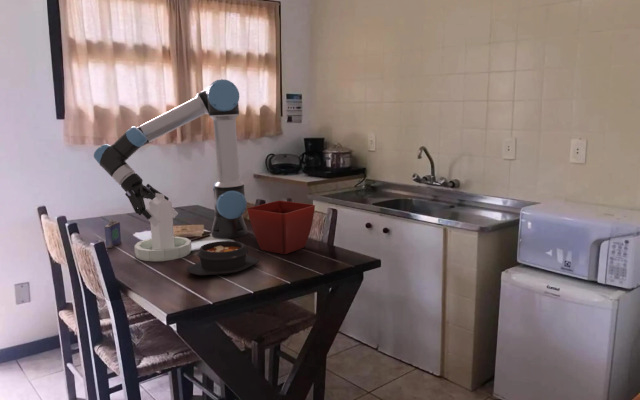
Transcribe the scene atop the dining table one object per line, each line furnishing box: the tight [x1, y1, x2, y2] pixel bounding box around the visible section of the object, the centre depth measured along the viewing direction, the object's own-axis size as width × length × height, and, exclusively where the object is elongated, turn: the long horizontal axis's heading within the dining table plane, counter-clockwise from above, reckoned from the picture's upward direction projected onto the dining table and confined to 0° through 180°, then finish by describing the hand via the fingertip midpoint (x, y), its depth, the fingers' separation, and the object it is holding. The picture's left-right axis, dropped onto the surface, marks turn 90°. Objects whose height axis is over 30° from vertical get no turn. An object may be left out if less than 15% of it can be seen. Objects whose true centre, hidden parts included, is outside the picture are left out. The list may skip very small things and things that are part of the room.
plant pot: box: [246, 200, 316, 255], centre depth 203 cm, size 19×19×17 cm
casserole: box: [186, 240, 260, 277], centre depth 179 cm, size 25×19×8 cm
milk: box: [148, 193, 175, 250], centre depth 198 cm, size 6×6×22 cm
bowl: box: [133, 236, 192, 262], centre depth 200 cm, size 20×20×4 cm
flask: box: [104, 219, 122, 249], centre depth 211 cm, size 9×3×11 cm, turn 172°
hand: (167, 220), depth 197 cm, fingers open, 13 cm apart
